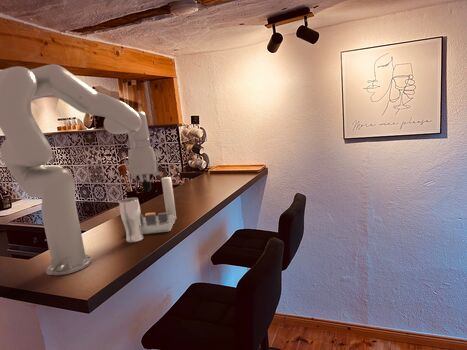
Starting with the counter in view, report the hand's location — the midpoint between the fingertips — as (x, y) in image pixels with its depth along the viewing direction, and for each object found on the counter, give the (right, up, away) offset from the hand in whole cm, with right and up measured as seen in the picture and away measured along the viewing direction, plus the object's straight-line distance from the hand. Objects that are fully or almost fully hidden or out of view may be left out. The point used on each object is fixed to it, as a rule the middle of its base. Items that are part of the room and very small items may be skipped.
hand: (147, 191), depth 133 cm
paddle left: (-4, -13, +2) cm, 13 cm away
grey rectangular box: (+6, -12, +1) cm, 13 cm away
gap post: (+7, -13, +12) cm, 19 cm away
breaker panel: (+1, -15, +3) cm, 15 cm away
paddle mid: (+1, -12, +2) cm, 12 cm away
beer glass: (-3, -18, -8) cm, 20 cm away
